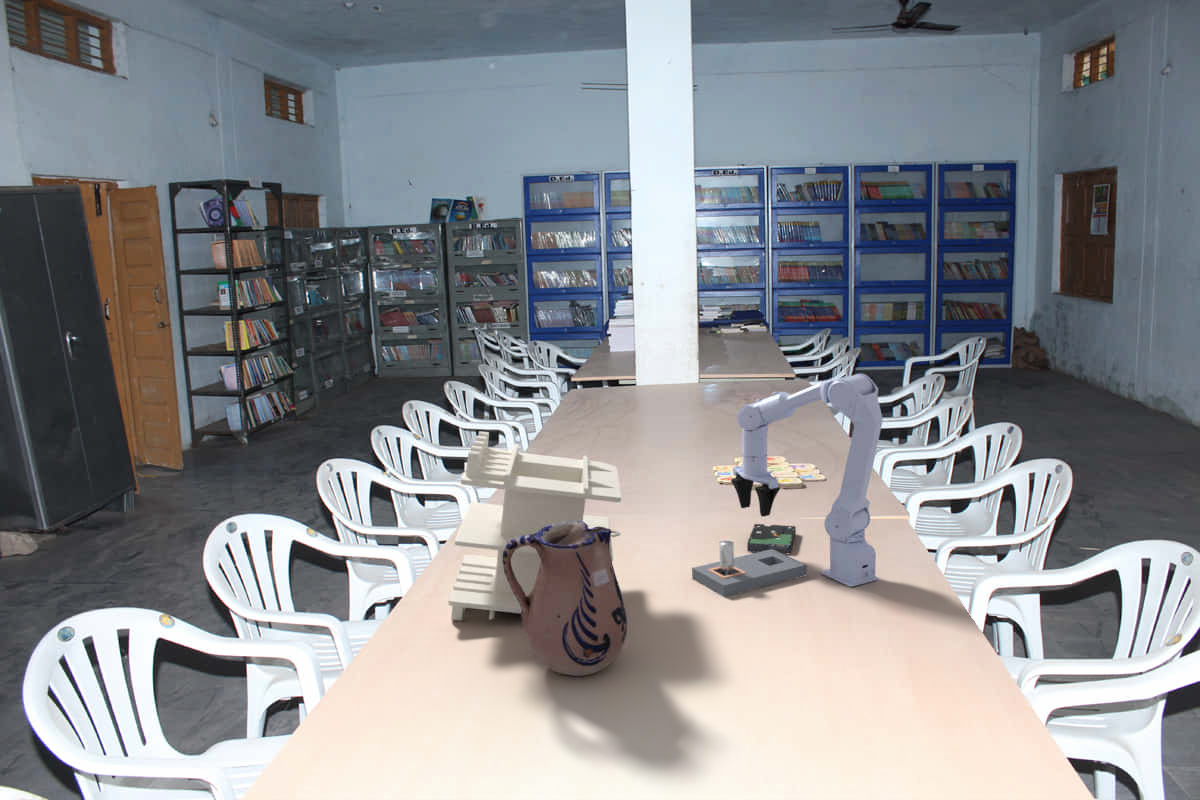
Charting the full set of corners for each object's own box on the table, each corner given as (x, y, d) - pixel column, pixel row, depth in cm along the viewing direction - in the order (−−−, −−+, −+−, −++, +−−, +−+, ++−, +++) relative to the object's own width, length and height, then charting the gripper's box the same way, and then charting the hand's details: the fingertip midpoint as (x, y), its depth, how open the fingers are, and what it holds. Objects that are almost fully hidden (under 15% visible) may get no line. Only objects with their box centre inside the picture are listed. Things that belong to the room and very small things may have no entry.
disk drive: (754, 534, 229) (747, 553, 215) (754, 523, 229) (747, 542, 215) (795, 536, 227) (791, 556, 212) (795, 525, 226) (791, 544, 212)
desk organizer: (462, 577, 205) (478, 427, 199) (599, 592, 206) (618, 443, 200) (445, 627, 179) (462, 456, 173) (601, 644, 180) (624, 474, 174)
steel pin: (737, 582, 197) (736, 542, 195) (727, 586, 195) (727, 546, 193) (726, 578, 199) (726, 539, 197) (717, 582, 197) (716, 543, 195)
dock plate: (806, 575, 199) (806, 563, 199) (723, 596, 189) (723, 584, 189) (772, 559, 210) (772, 548, 209) (692, 578, 200) (692, 567, 199)
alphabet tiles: (832, 488, 266) (832, 480, 265) (720, 492, 266) (720, 484, 266) (808, 461, 298) (808, 453, 298) (709, 464, 299) (709, 457, 299)
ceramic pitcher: (641, 678, 156) (637, 539, 151) (521, 700, 150) (512, 556, 146) (611, 637, 172) (606, 510, 168) (501, 655, 167) (493, 524, 162)
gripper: (788, 458, 205) (788, 516, 207) (749, 446, 217) (750, 501, 220) (763, 463, 202) (763, 521, 204) (725, 450, 214) (726, 505, 217)
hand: (755, 511), depth 212 cm, fingers open, 7 cm apart
